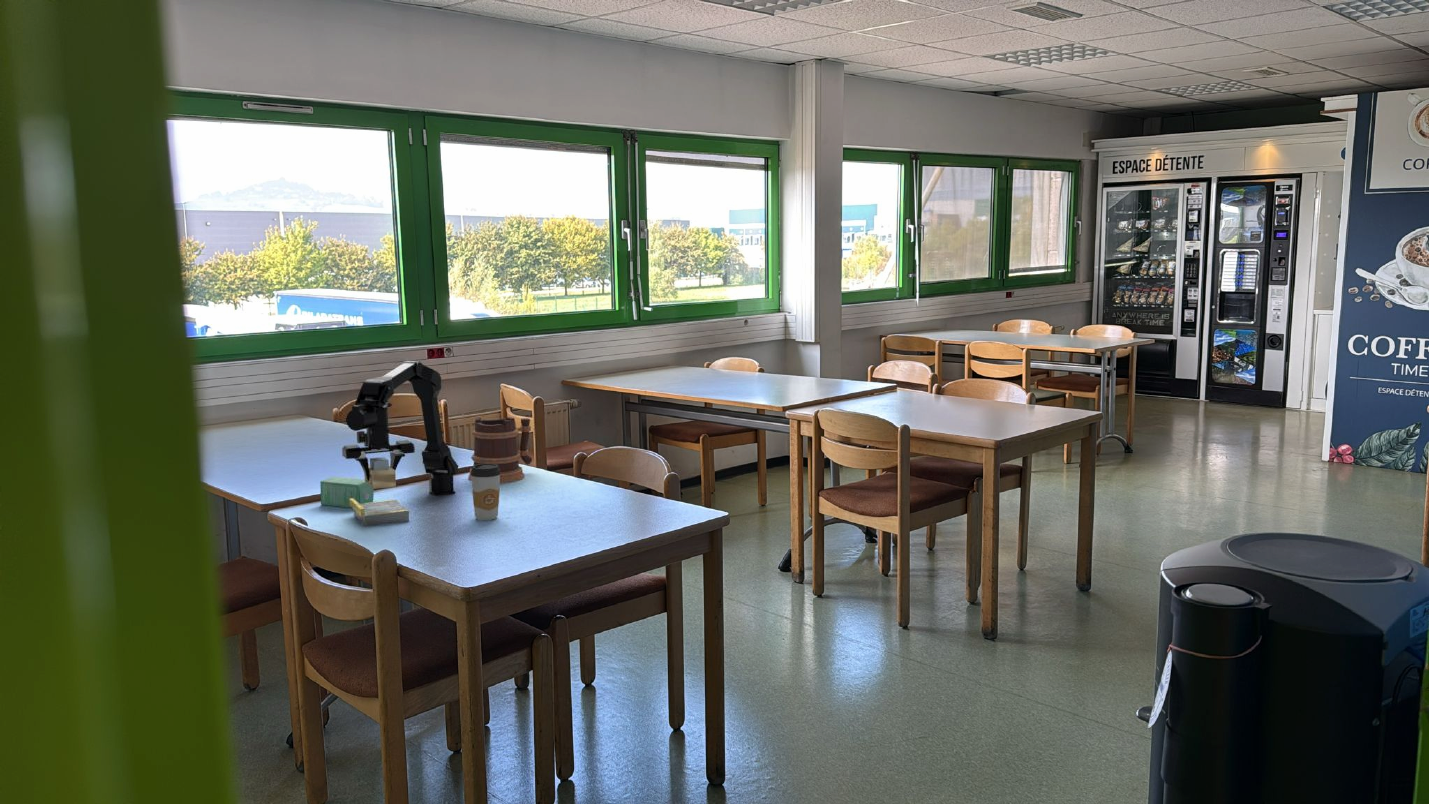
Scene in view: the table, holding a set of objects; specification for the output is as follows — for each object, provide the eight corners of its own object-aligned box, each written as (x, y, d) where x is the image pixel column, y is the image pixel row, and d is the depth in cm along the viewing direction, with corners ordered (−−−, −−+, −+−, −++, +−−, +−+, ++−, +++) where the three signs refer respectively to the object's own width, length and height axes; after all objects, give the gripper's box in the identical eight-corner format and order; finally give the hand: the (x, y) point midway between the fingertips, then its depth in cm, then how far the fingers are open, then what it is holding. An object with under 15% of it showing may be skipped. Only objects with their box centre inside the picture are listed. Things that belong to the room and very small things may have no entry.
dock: (396, 510, 305) (395, 493, 304) (409, 521, 293) (408, 503, 292) (350, 515, 298) (349, 498, 297) (361, 527, 286) (360, 509, 286)
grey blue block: (370, 467, 295) (369, 458, 294) (384, 465, 297) (384, 456, 296) (374, 470, 291) (373, 461, 290) (388, 468, 293) (388, 460, 292)
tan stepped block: (364, 480, 297) (364, 465, 297) (386, 478, 301) (385, 463, 300) (373, 488, 288) (373, 472, 287) (395, 486, 291) (395, 470, 291)
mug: (546, 476, 351) (545, 417, 348) (485, 486, 336) (484, 425, 333) (517, 467, 364) (516, 410, 361) (457, 476, 349) (456, 417, 346)
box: (360, 509, 306) (359, 484, 305) (320, 505, 309) (319, 481, 308) (374, 503, 313) (373, 478, 312) (335, 500, 316) (334, 476, 315)
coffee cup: (475, 523, 292) (474, 470, 289) (468, 516, 299) (466, 464, 297) (505, 519, 295) (504, 467, 293) (496, 513, 303) (495, 462, 300)
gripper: (403, 417, 303) (405, 470, 306) (336, 423, 294) (339, 477, 296) (414, 423, 294) (416, 478, 296) (345, 429, 284) (347, 485, 287)
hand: (379, 479), depth 294 cm, fingers closed on tan stepped block, 6 cm apart
